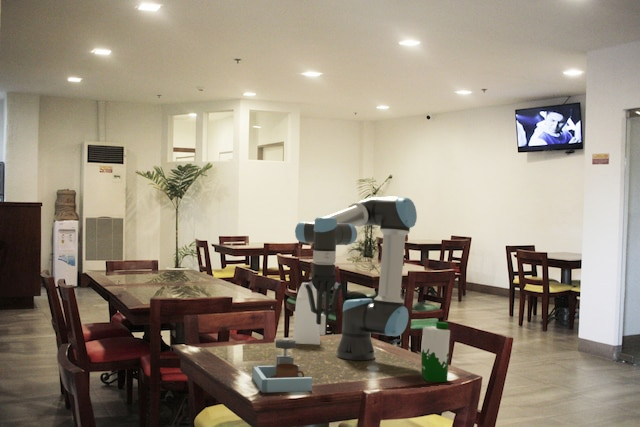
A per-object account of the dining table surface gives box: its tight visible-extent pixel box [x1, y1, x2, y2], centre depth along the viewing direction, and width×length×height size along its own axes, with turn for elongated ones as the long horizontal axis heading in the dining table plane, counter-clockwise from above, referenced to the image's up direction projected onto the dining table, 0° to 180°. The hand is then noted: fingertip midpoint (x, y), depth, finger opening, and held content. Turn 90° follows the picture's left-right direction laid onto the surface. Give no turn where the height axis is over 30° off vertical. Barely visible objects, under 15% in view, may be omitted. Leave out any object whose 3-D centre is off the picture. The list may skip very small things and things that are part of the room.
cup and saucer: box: [269, 363, 305, 378], centre depth 207 cm, size 12×12×6 cm
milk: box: [292, 282, 321, 345], centre depth 281 cm, size 12×12×26 cm
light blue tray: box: [251, 354, 313, 394], centre depth 210 cm, size 16×24×6 cm, turn 16°
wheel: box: [275, 338, 297, 356], centre depth 220 cm, size 7×7×6 cm
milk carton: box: [420, 321, 451, 383], centre depth 222 cm, size 9×9×20 cm
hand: (321, 334), depth 210 cm, fingers closed
